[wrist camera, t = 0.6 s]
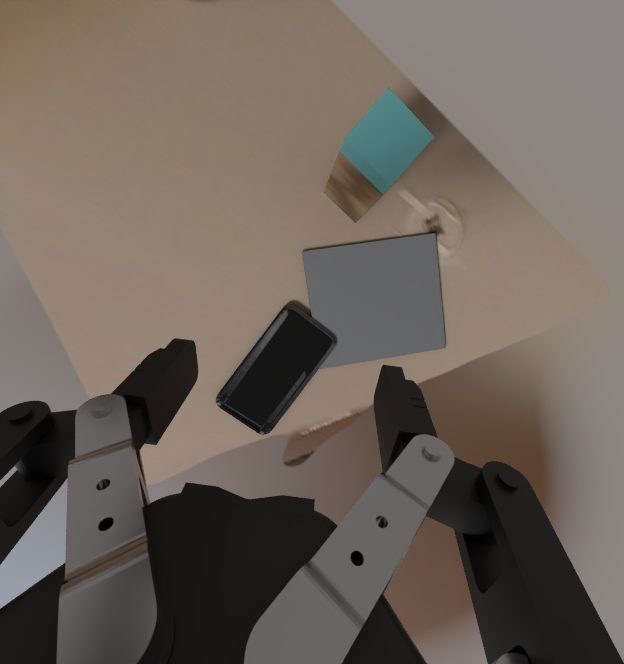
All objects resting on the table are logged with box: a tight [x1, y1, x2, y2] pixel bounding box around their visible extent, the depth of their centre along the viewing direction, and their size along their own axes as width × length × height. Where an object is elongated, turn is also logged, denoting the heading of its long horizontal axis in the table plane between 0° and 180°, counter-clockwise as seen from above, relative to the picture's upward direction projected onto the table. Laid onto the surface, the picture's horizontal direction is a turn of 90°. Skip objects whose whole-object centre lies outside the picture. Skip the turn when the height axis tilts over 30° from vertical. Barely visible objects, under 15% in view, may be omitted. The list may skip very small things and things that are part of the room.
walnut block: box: [324, 88, 434, 223], centre depth 29 cm, size 5×5×12 cm
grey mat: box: [302, 233, 446, 369], centre depth 37 cm, size 14×16×1 cm
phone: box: [216, 304, 337, 435], centre depth 36 cm, size 8×1×15 cm
